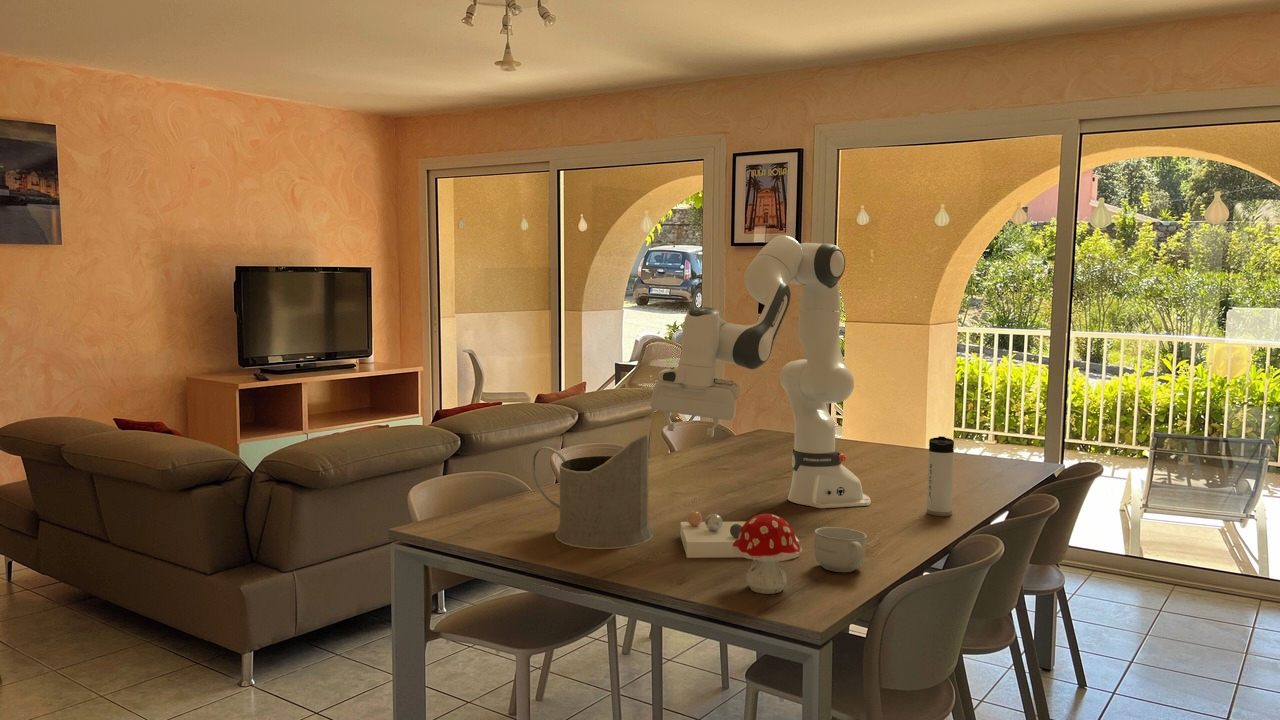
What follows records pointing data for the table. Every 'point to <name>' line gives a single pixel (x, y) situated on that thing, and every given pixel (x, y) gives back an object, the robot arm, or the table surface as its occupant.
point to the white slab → (709, 540)
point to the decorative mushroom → (766, 551)
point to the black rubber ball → (735, 530)
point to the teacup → (839, 548)
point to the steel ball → (713, 522)
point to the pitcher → (603, 498)
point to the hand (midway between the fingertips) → (690, 433)
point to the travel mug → (940, 476)
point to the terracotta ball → (694, 518)
